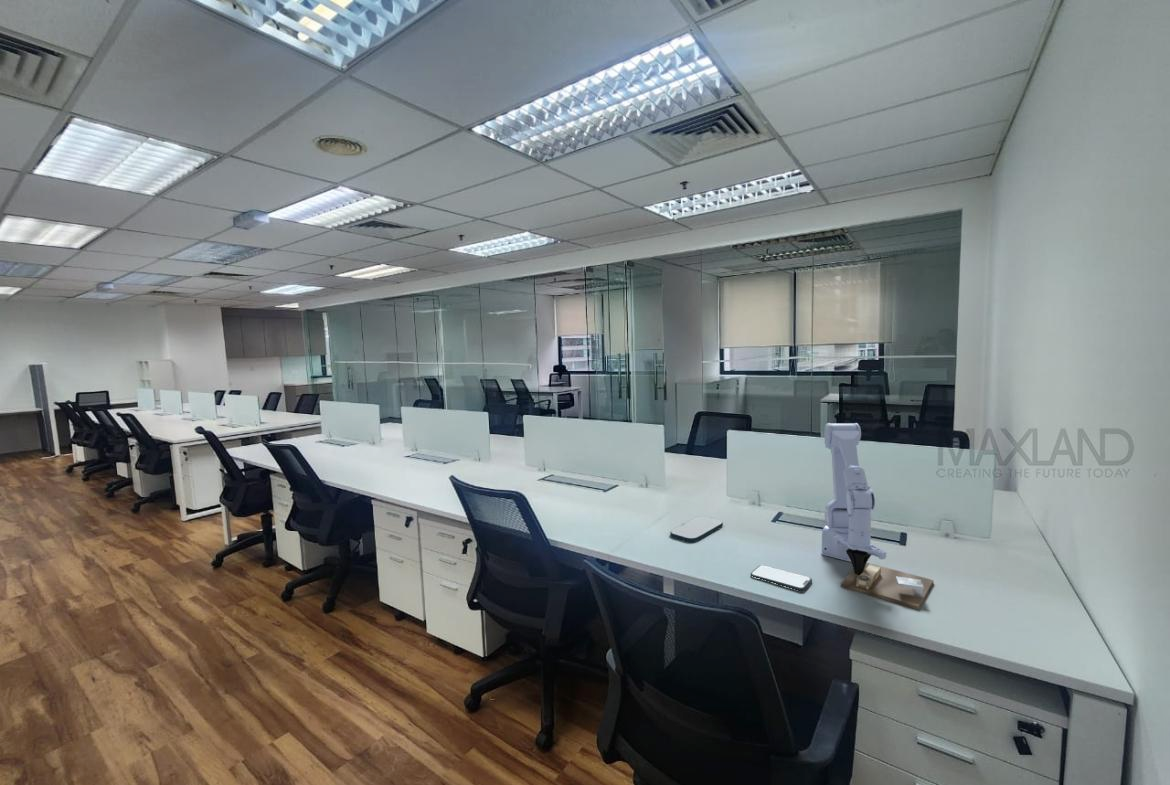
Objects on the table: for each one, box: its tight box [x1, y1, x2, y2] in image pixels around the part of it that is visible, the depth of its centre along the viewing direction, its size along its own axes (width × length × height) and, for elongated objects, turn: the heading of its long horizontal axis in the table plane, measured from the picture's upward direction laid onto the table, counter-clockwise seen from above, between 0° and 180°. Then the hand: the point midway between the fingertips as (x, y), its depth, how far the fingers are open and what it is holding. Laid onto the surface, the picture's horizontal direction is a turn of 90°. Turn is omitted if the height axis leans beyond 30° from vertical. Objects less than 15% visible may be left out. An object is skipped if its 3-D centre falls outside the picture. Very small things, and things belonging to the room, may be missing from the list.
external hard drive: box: [669, 515, 724, 543], centre depth 187 cm, size 24×12×2 cm, turn 135°
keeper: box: [896, 576, 924, 598], centre depth 134 cm, size 6×4×4 cm
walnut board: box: [840, 562, 934, 611], centre depth 141 cm, size 19×19×1 cm
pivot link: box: [856, 563, 881, 589], centre depth 142 cm, size 13×4×3 cm, turn 135°
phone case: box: [749, 564, 813, 592], centre depth 147 cm, size 9×2×16 cm
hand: (858, 573), depth 145 cm, fingers closed
